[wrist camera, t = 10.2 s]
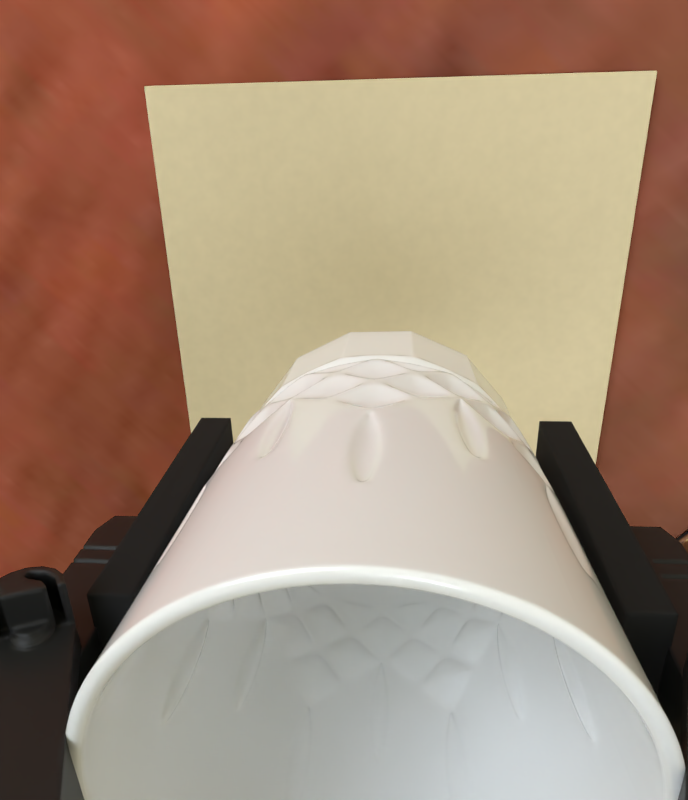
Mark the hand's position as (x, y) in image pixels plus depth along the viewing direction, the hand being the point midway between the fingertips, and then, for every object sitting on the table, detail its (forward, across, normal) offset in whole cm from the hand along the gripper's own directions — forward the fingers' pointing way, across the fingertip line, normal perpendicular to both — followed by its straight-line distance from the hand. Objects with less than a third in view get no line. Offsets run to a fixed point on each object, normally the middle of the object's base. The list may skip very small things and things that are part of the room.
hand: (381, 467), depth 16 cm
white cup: (+1, 0, 0) cm, 1 cm away
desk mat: (+14, 0, 0) cm, 14 cm away
